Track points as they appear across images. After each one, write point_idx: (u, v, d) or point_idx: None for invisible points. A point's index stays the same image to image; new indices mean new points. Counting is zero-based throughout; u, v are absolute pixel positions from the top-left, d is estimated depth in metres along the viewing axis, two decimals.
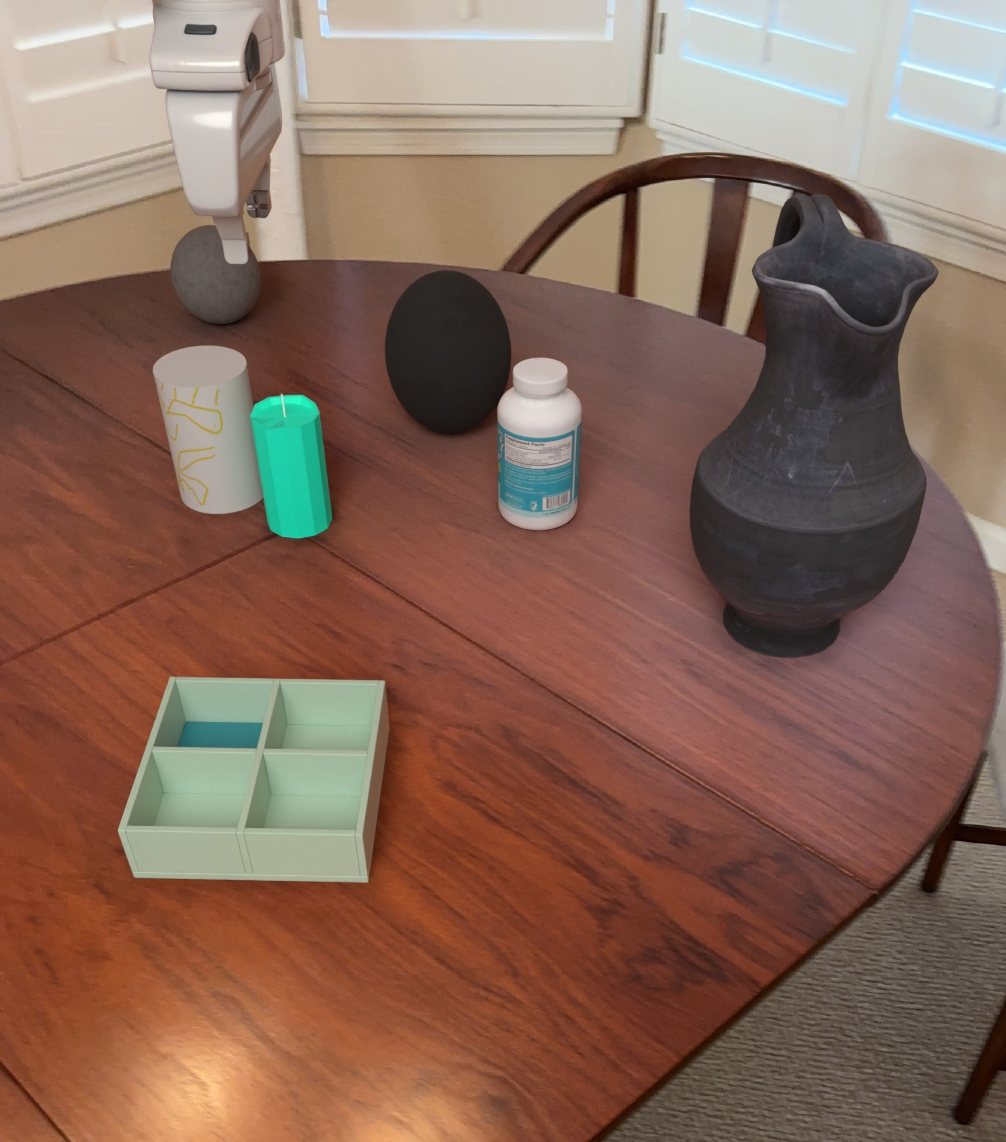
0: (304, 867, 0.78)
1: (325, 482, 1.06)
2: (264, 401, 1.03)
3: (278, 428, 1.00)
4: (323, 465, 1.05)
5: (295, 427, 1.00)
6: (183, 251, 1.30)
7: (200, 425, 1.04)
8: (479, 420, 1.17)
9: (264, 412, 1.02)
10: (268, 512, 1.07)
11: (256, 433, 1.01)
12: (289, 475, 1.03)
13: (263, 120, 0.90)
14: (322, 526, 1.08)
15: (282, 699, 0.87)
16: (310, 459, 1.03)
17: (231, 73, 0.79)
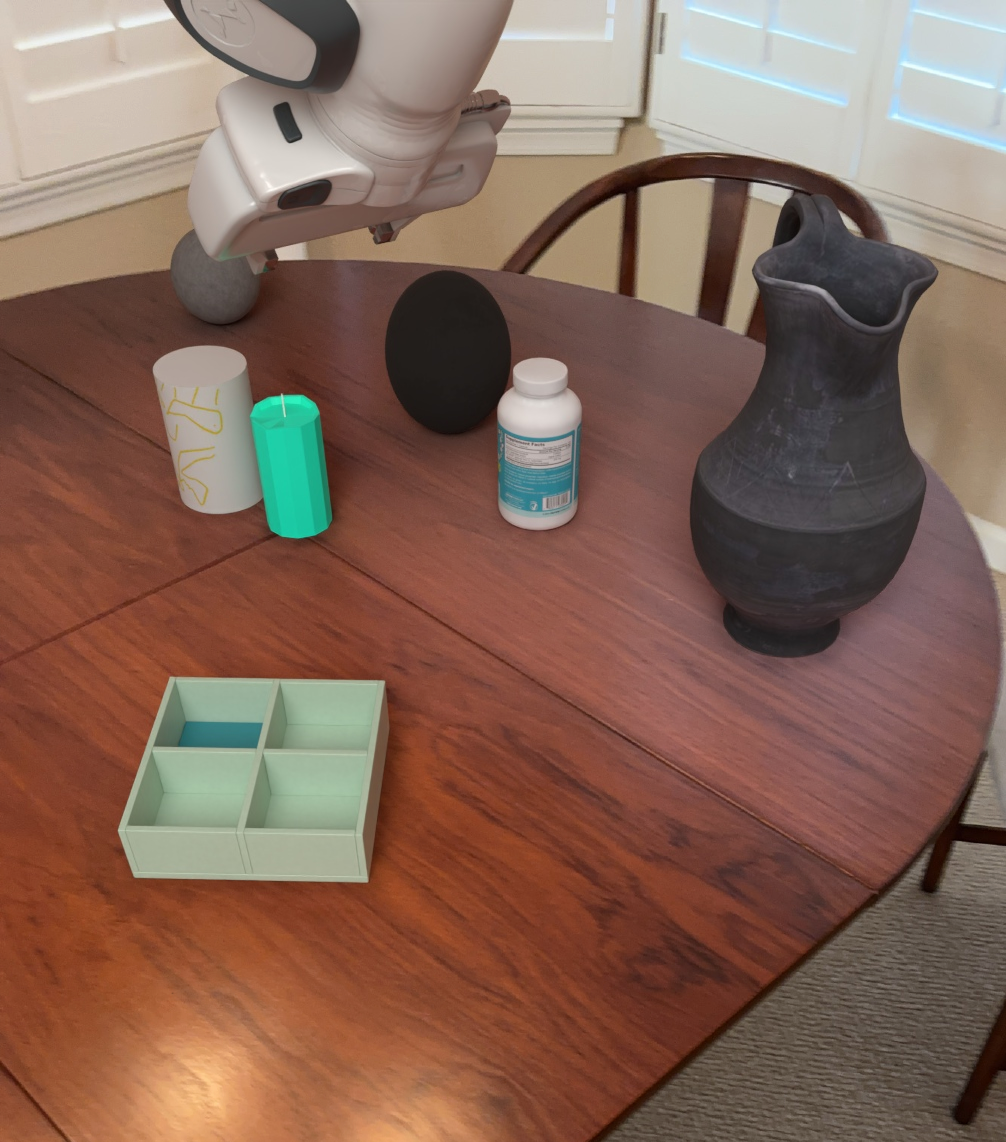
0: (304, 867, 0.78)
1: (325, 482, 1.06)
2: (264, 401, 1.03)
3: (278, 428, 1.00)
4: (323, 465, 1.05)
5: (295, 427, 1.00)
6: (183, 251, 1.30)
7: (200, 425, 1.04)
8: (479, 420, 1.17)
9: (264, 412, 1.02)
10: (268, 512, 1.07)
11: (256, 433, 1.01)
12: (289, 475, 1.03)
13: None
14: (322, 526, 1.08)
15: (282, 699, 0.87)
16: (310, 459, 1.03)
17: (253, 191, 0.67)
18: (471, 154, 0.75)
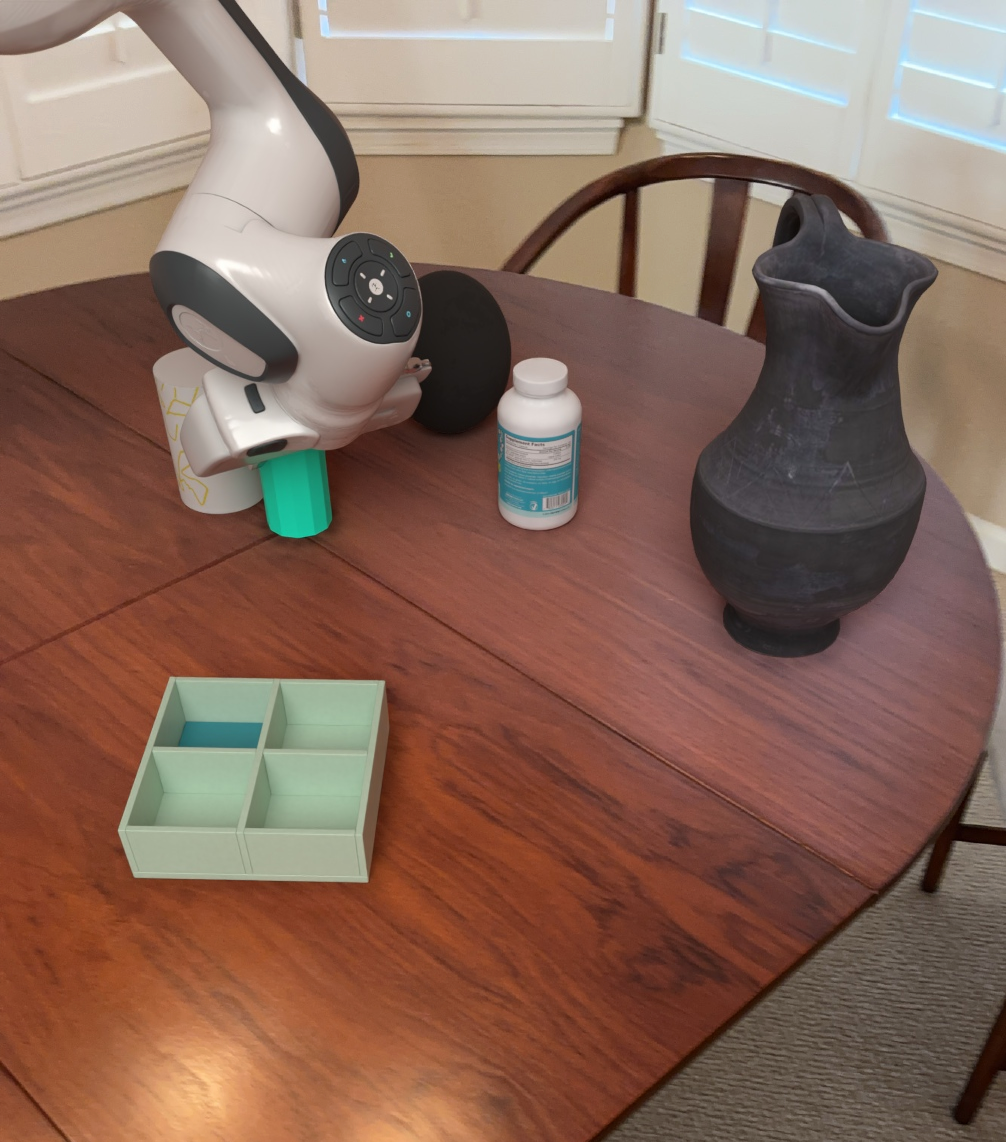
0: (304, 867, 0.78)
1: (325, 482, 1.06)
2: None
3: None
4: (324, 464, 1.05)
5: None
6: None
7: None
8: (479, 420, 1.17)
9: None
10: (268, 511, 1.07)
11: None
12: (290, 475, 1.03)
13: None
14: (322, 526, 1.08)
15: (282, 699, 0.87)
16: (311, 458, 1.03)
17: (228, 446, 0.90)
18: (399, 401, 0.97)
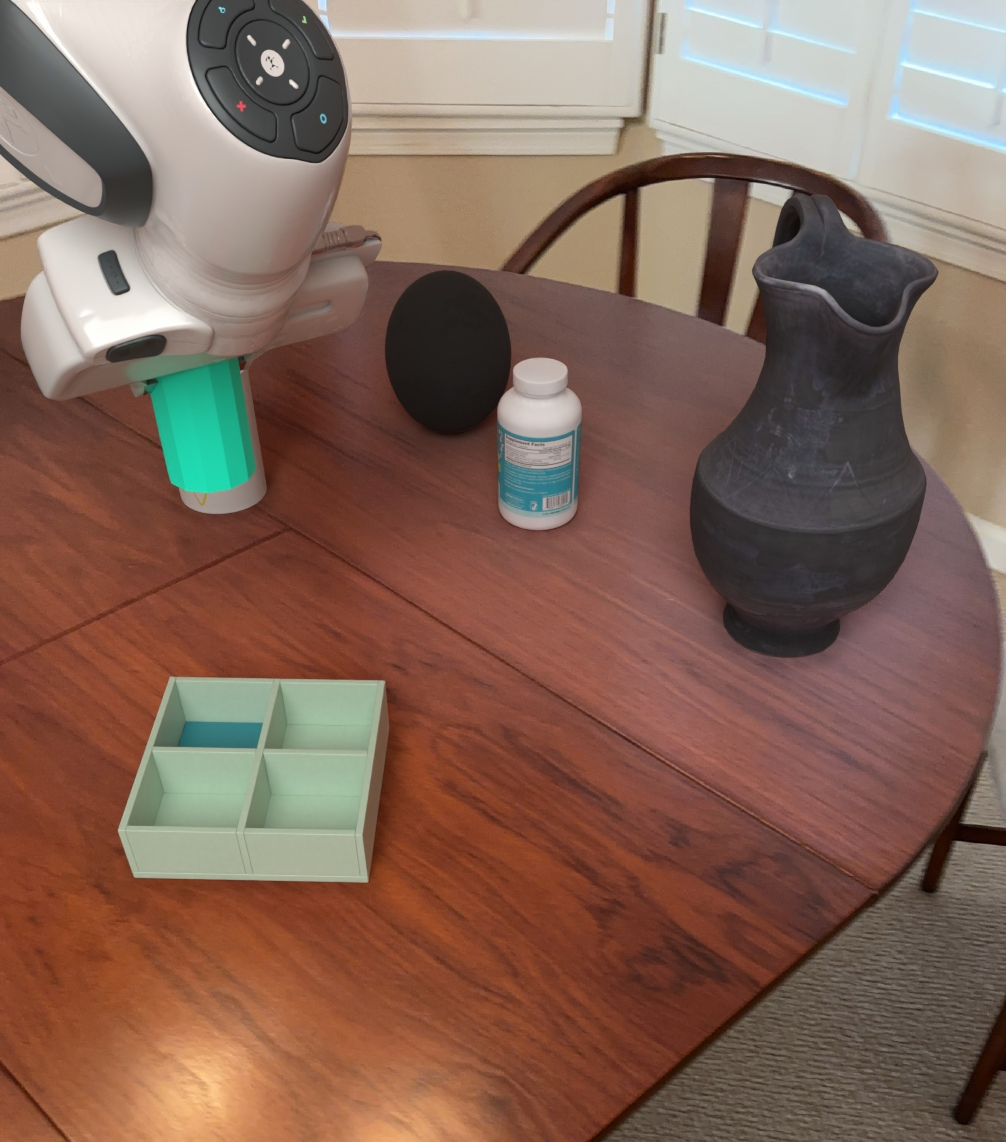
0: (304, 867, 0.78)
1: (243, 415, 0.77)
2: None
3: None
4: (240, 390, 0.76)
5: None
6: None
7: None
8: (479, 420, 1.17)
9: None
10: (166, 457, 0.78)
11: None
12: (190, 403, 0.74)
13: None
14: (241, 477, 0.79)
15: (282, 699, 0.87)
16: (219, 379, 0.74)
17: (77, 345, 0.61)
18: (337, 291, 0.68)
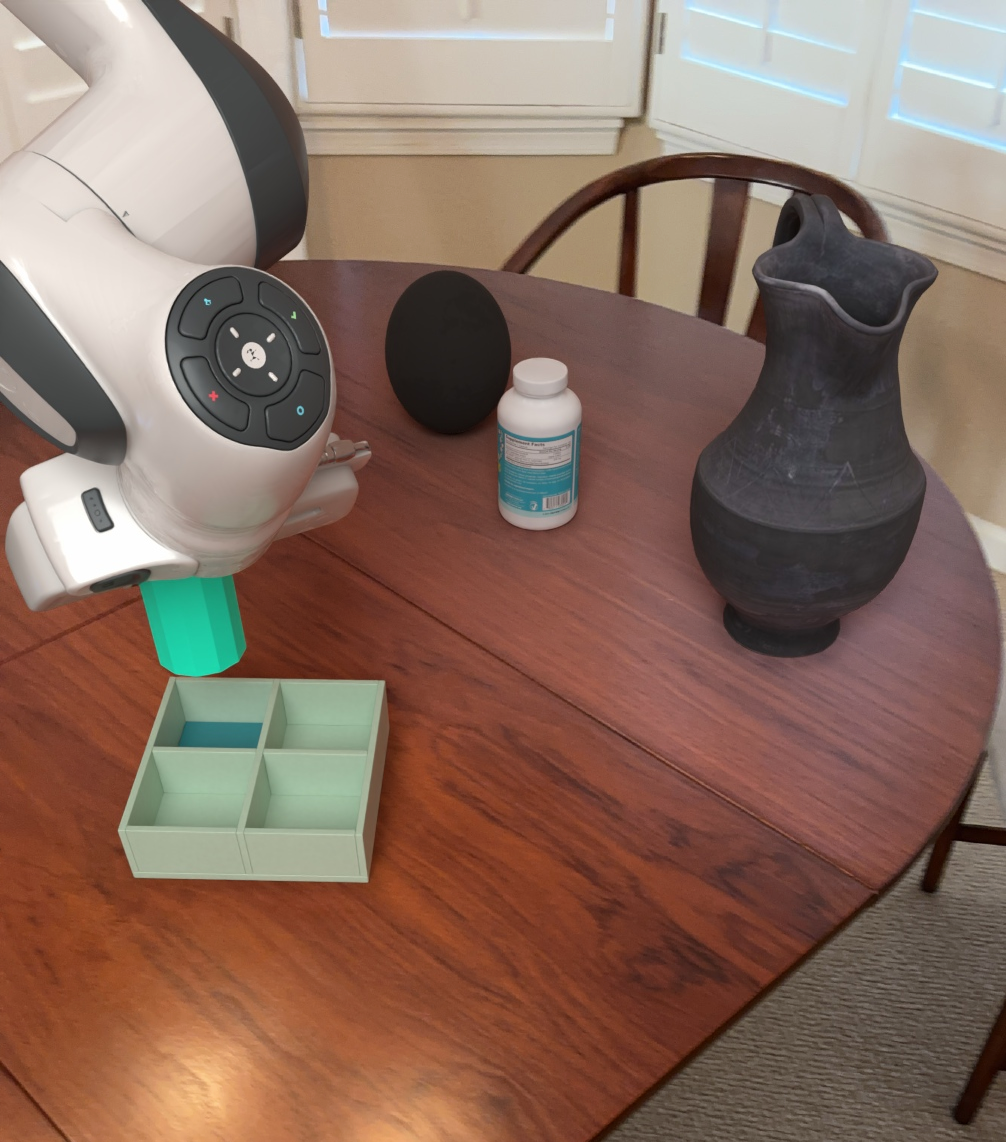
0: (304, 867, 0.78)
1: (233, 601, 0.76)
2: None
3: None
4: (229, 579, 0.75)
5: None
6: None
7: None
8: (479, 420, 1.17)
9: None
10: (155, 642, 0.77)
11: None
12: (178, 597, 0.73)
13: None
14: (231, 659, 0.78)
15: (282, 699, 0.87)
16: None
17: (60, 580, 0.60)
18: (326, 500, 0.67)
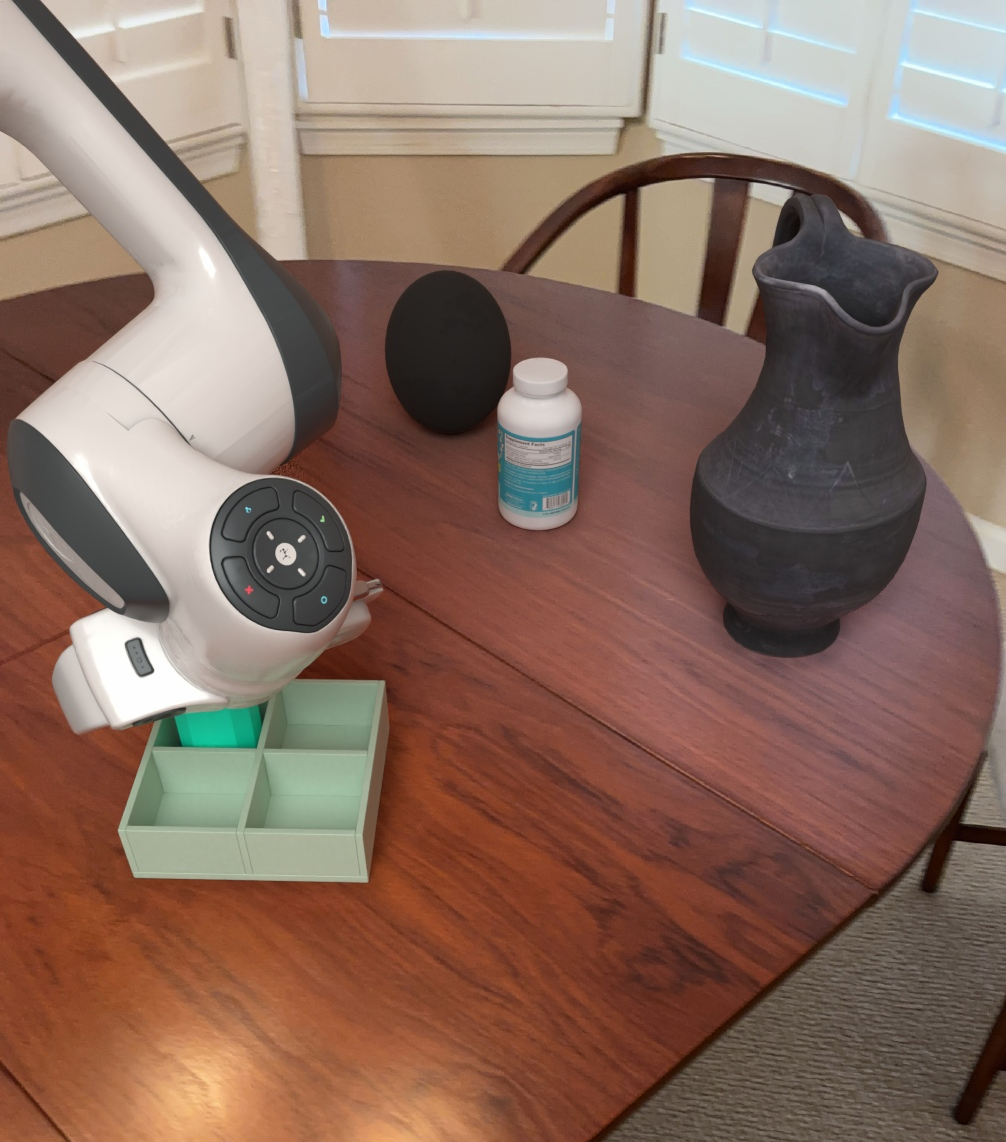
0: (304, 867, 0.78)
1: (255, 714, 0.83)
2: None
3: None
4: None
5: None
6: None
7: None
8: (479, 420, 1.17)
9: None
10: None
11: None
12: (207, 715, 0.80)
13: None
14: None
15: (282, 699, 0.87)
16: None
17: (105, 718, 0.67)
18: (342, 632, 0.74)
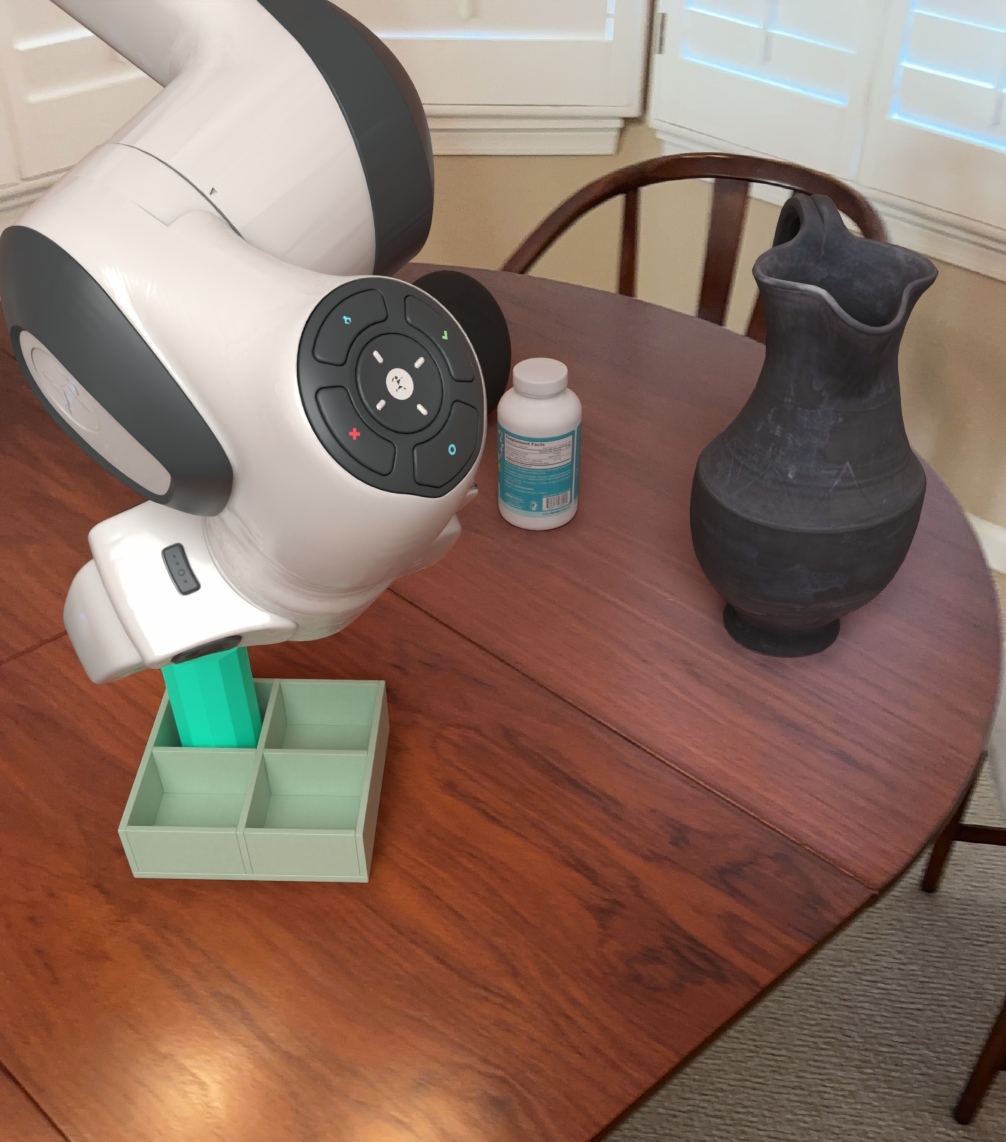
0: (304, 867, 0.78)
1: (255, 714, 0.83)
2: None
3: (189, 663, 0.77)
4: (252, 695, 0.82)
5: (211, 662, 0.77)
6: None
7: None
8: None
9: None
10: None
11: None
12: (207, 715, 0.80)
13: None
14: None
15: (282, 699, 0.87)
16: (234, 694, 0.80)
17: (138, 652, 0.51)
18: (427, 547, 0.59)
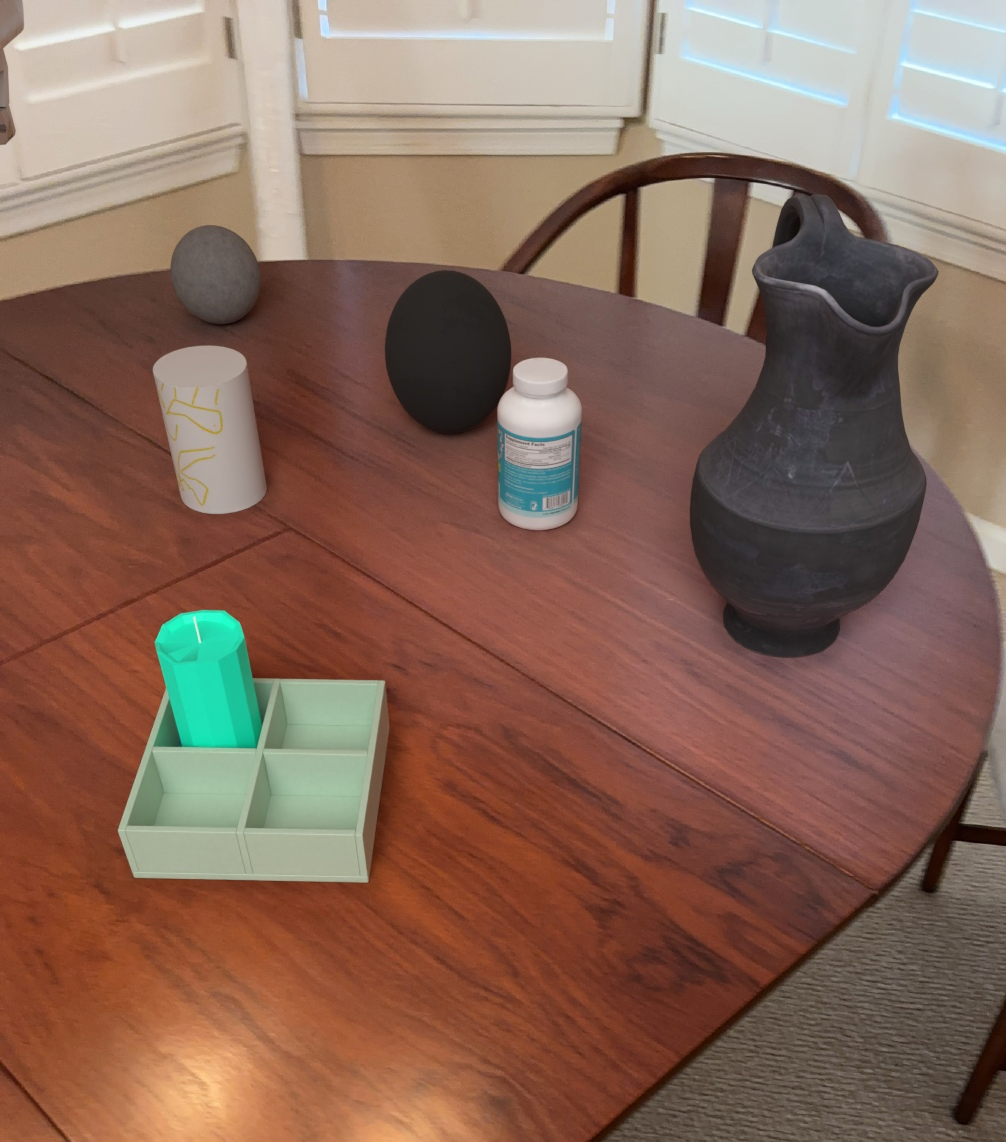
0: (304, 867, 0.78)
1: (255, 714, 0.83)
2: (174, 620, 0.80)
3: (189, 663, 0.77)
4: (252, 695, 0.82)
5: (211, 662, 0.77)
6: (183, 251, 1.30)
7: (200, 425, 1.04)
8: (479, 420, 1.17)
9: (174, 636, 0.80)
10: None
11: (162, 665, 0.79)
12: (207, 715, 0.80)
13: None
14: None
15: (282, 699, 0.87)
16: (234, 694, 0.80)
17: None
18: None
